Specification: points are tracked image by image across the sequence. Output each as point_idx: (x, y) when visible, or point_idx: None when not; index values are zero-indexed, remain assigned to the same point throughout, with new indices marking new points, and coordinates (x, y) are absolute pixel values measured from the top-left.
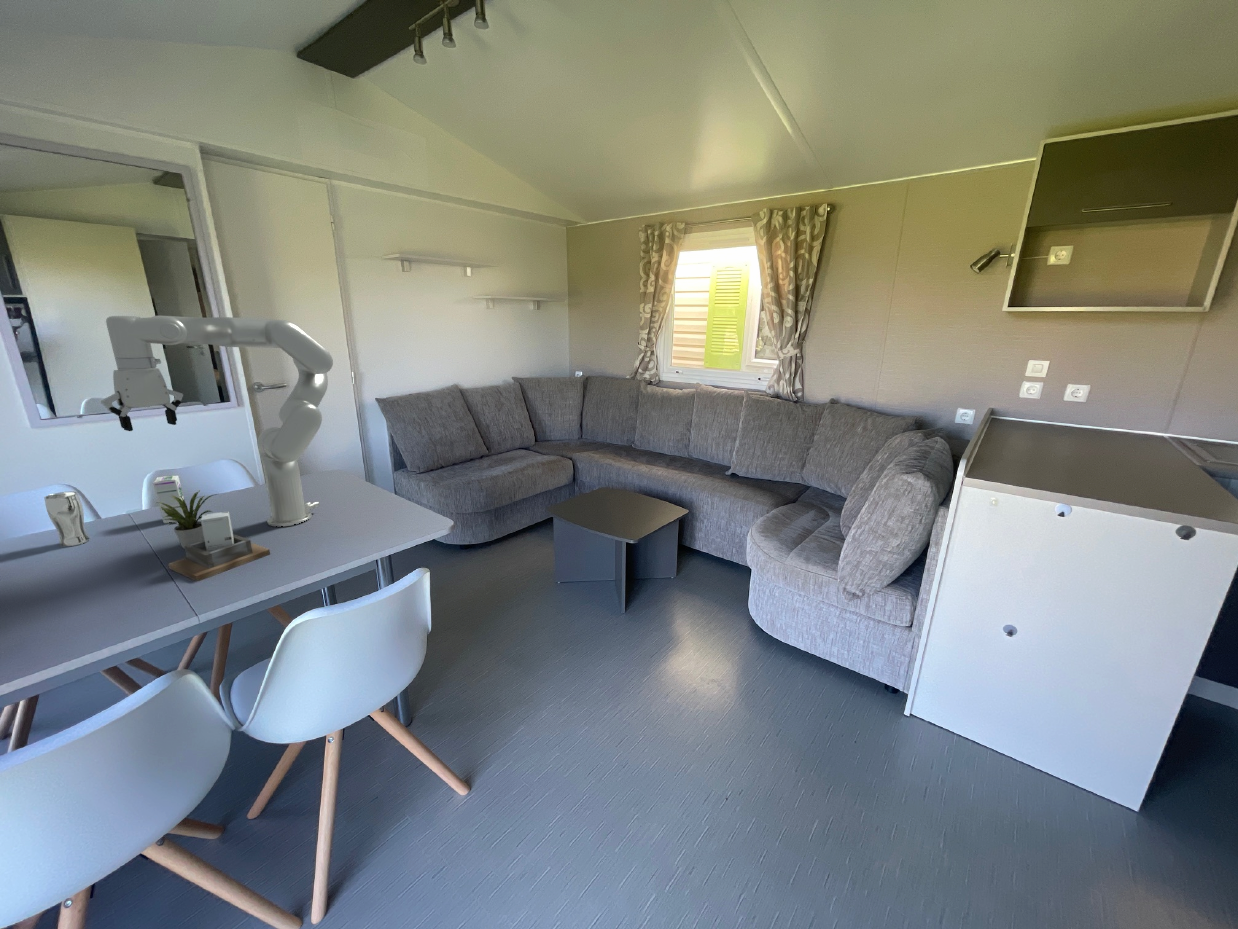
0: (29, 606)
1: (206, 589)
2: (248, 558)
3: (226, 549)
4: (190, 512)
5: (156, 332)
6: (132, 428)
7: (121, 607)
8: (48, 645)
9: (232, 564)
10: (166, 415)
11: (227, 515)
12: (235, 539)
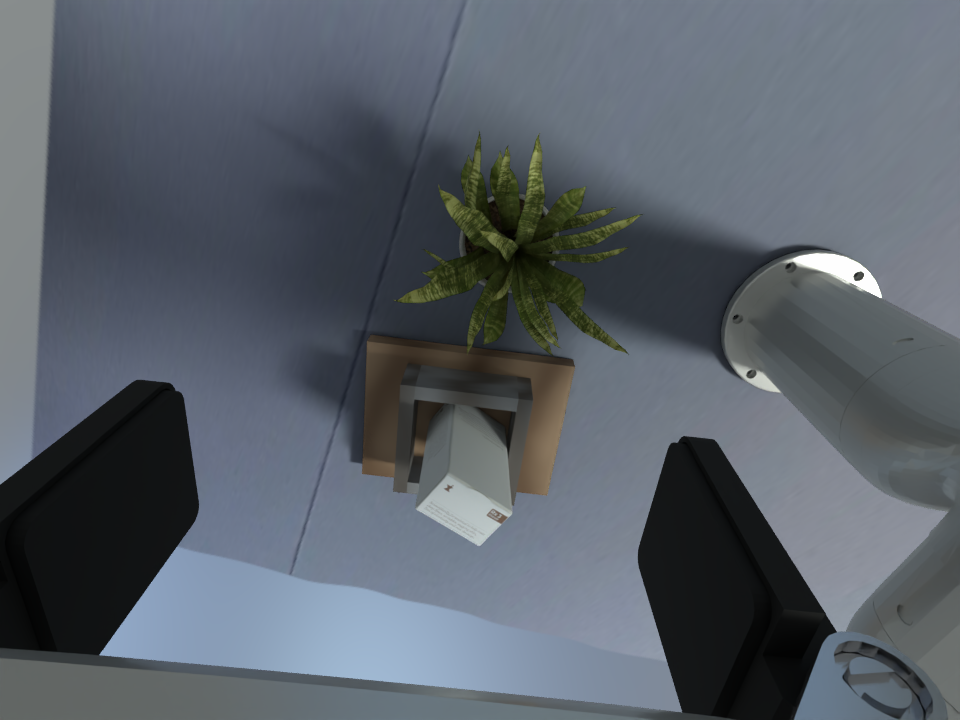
0: (79, 231)
1: (353, 512)
2: None
3: None
4: (532, 247)
5: None
6: (184, 531)
7: (215, 433)
8: None
9: None
10: (708, 547)
11: (481, 543)
12: (508, 452)
